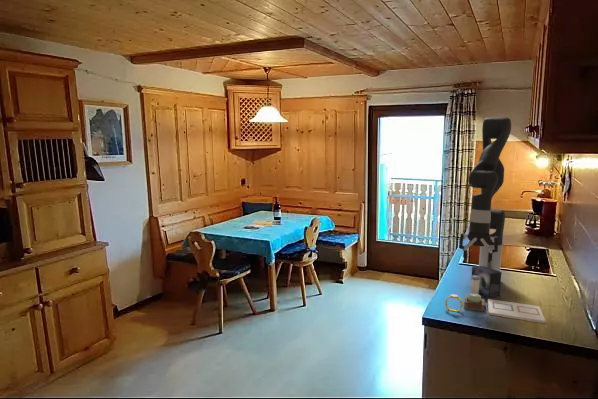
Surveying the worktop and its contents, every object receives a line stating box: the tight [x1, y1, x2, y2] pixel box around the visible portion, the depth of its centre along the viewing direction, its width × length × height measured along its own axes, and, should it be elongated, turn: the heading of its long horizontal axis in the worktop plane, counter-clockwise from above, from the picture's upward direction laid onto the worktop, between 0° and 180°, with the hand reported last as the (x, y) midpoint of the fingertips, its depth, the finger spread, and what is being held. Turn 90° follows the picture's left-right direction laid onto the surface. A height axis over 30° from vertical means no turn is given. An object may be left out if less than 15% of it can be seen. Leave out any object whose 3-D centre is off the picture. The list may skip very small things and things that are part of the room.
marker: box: [470, 275, 480, 295], centre depth 170 cm, size 3×3×9 cm
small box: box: [470, 265, 503, 299], centre depth 177 cm, size 11×6×10 cm, turn 21°
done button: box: [467, 293, 482, 303], centre depth 160 cm, size 4×4×3 cm
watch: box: [444, 293, 464, 313], centre depth 155 cm, size 6×3×6 cm, turn 60°
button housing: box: [463, 295, 486, 312], centre depth 160 cm, size 7×7×2 cm
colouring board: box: [487, 298, 547, 324], centre depth 157 cm, size 16×18×1 cm
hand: (477, 260), depth 169 cm, fingers open, 8 cm apart
